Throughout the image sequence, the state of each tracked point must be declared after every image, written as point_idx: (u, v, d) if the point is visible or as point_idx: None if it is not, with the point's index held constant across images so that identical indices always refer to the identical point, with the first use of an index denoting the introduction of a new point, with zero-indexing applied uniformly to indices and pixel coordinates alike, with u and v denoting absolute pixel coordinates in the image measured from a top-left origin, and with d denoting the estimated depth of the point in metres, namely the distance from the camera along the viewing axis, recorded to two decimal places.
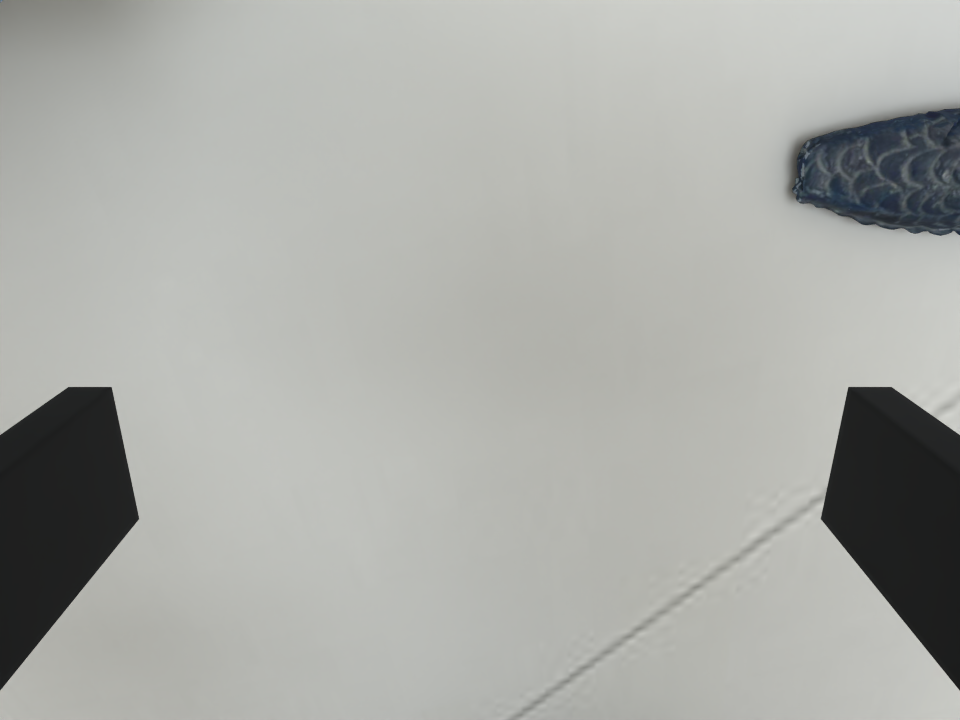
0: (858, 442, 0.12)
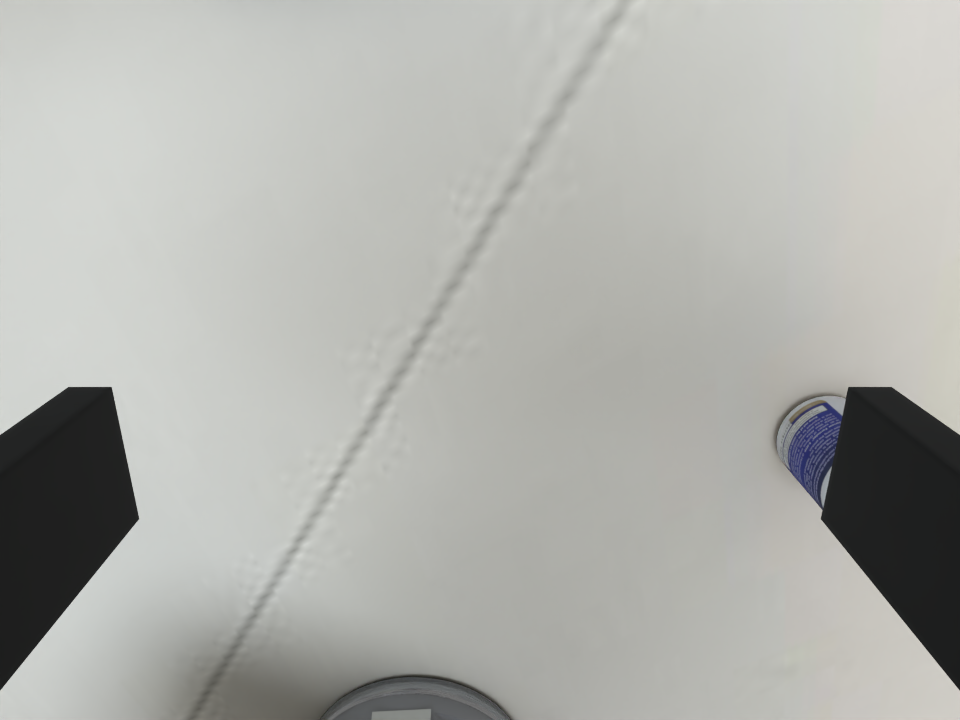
0: (858, 442, 0.12)
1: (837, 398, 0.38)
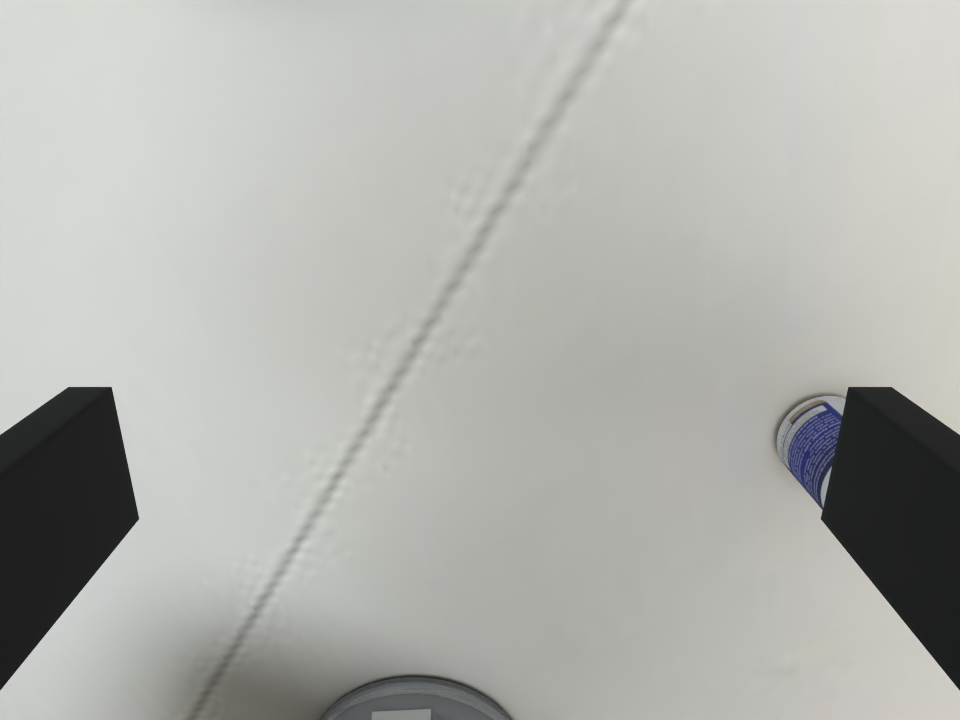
0: (858, 442, 0.12)
1: (837, 398, 0.38)
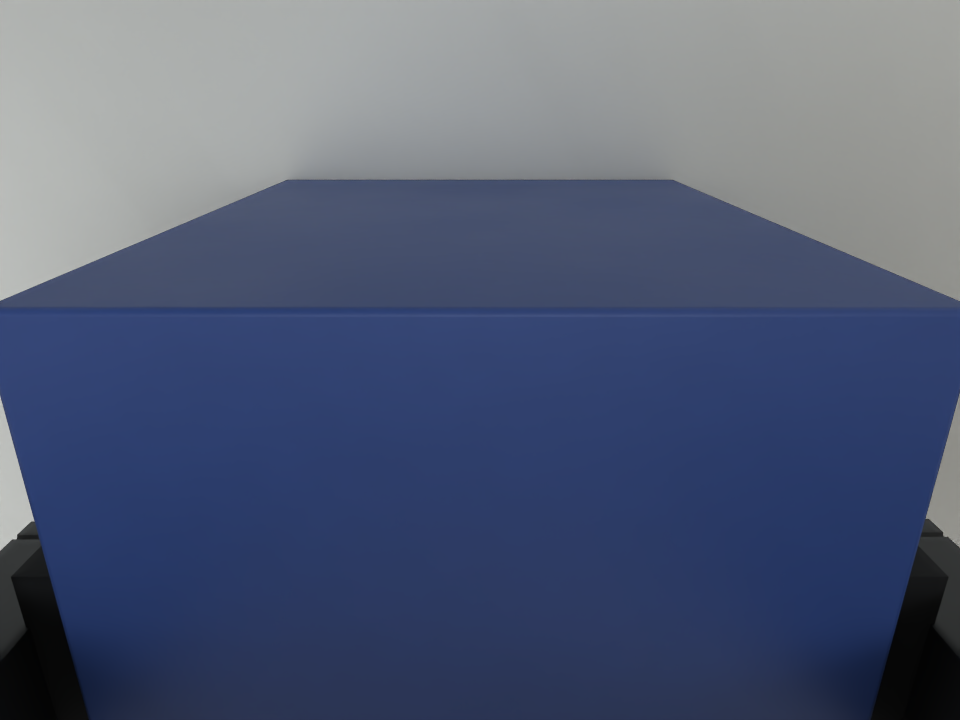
0: None
1: None
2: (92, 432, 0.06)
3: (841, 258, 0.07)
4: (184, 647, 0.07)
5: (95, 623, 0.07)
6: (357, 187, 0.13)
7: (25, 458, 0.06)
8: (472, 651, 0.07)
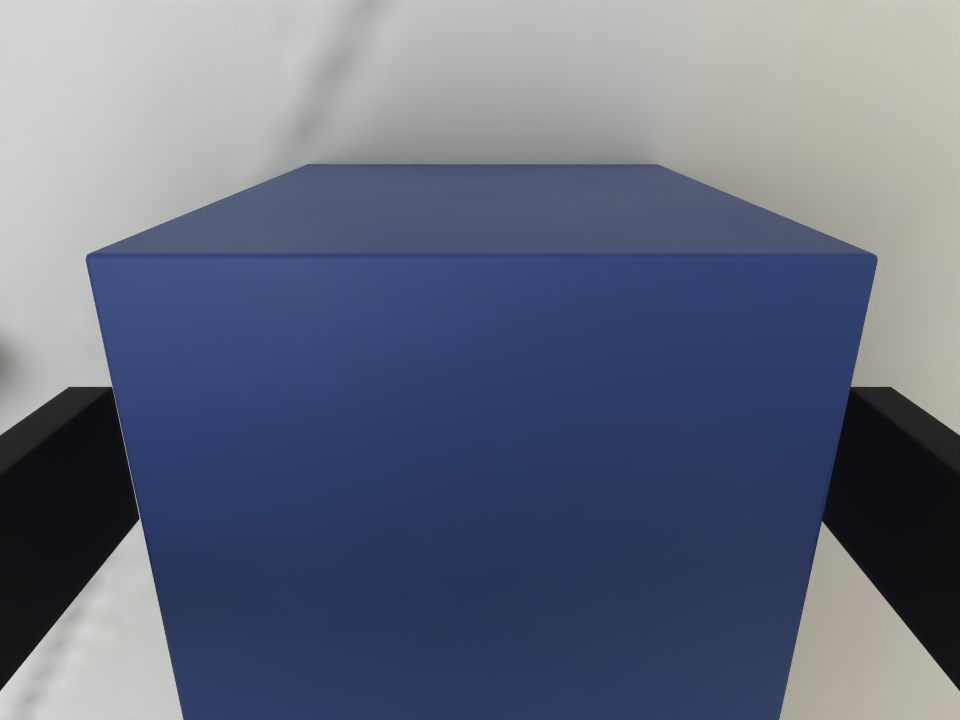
0: (857, 442, 0.12)
1: None
2: (171, 355, 0.08)
3: (782, 222, 0.09)
4: (240, 538, 0.08)
5: (167, 517, 0.08)
6: (371, 170, 0.15)
7: (115, 379, 0.08)
8: (474, 542, 0.09)
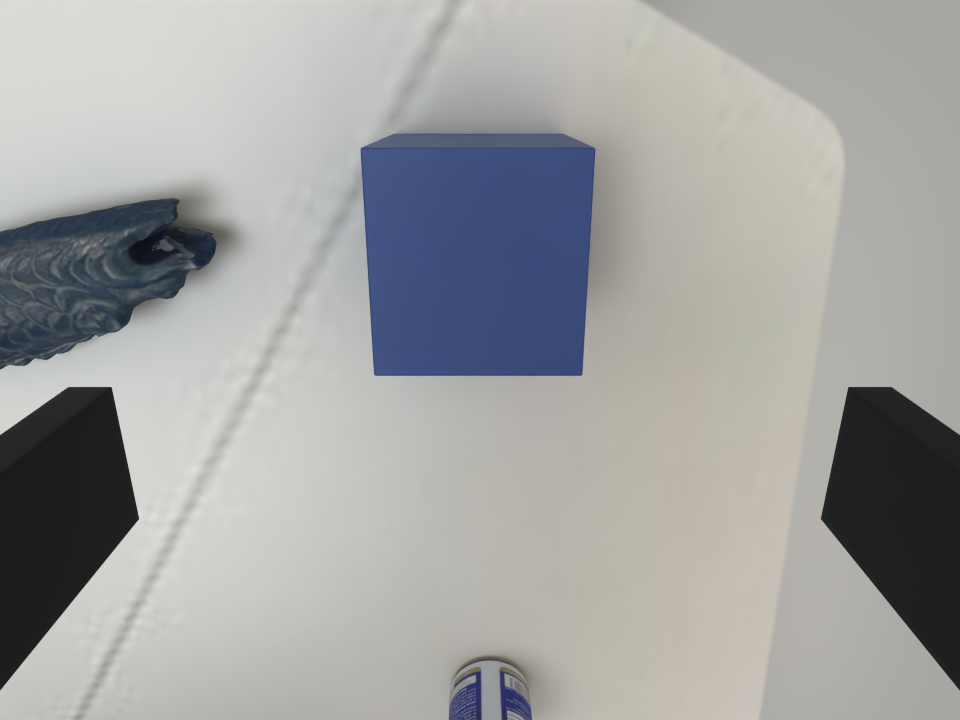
0: (858, 442, 0.12)
1: (493, 665, 0.44)
2: (383, 180, 0.25)
3: (581, 144, 0.26)
4: (398, 246, 0.26)
5: (375, 239, 0.26)
6: (427, 135, 0.32)
7: (363, 189, 0.25)
8: (475, 248, 0.26)
